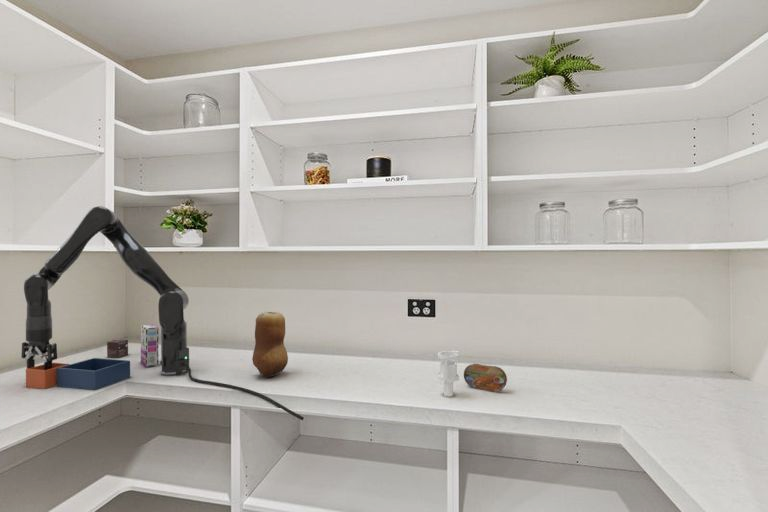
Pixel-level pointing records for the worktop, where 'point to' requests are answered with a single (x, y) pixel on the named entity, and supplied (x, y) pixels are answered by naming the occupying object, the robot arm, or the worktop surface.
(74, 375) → the big bin
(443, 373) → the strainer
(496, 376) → the tin
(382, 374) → the worktop surface
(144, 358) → the candy bar box
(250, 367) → the worktop surface
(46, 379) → the small bin
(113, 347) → the box
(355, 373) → the worktop surface
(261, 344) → the butternut squash
